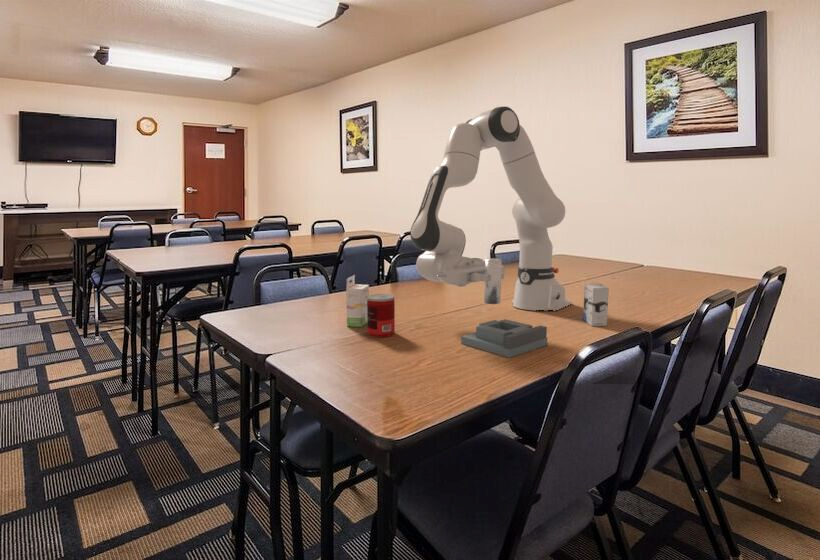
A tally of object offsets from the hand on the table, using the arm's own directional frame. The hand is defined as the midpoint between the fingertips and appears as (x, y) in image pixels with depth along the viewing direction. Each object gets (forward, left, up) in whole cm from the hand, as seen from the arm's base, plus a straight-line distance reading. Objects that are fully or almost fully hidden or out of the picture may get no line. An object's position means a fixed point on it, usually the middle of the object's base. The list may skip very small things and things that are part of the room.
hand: (495, 277), depth 139 cm
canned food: (+21, -24, -17) cm, 36 cm away
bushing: (0, -1, -7) cm, 7 cm away
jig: (+3, +6, -17) cm, 18 cm away
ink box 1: (+19, -38, -17) cm, 46 cm away
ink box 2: (-36, +10, -17) cm, 41 cm away
